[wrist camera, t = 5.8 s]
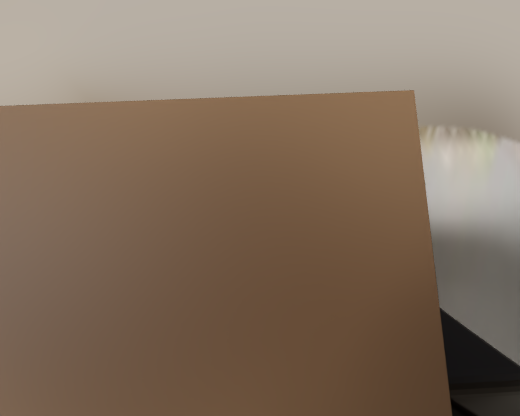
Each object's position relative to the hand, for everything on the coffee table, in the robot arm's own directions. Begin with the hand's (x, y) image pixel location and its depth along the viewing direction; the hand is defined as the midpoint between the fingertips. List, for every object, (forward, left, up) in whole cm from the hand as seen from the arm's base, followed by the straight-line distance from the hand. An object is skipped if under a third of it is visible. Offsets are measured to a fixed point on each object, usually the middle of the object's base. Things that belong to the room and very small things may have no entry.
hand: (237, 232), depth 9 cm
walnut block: (-1, +1, -7) cm, 7 cm away
